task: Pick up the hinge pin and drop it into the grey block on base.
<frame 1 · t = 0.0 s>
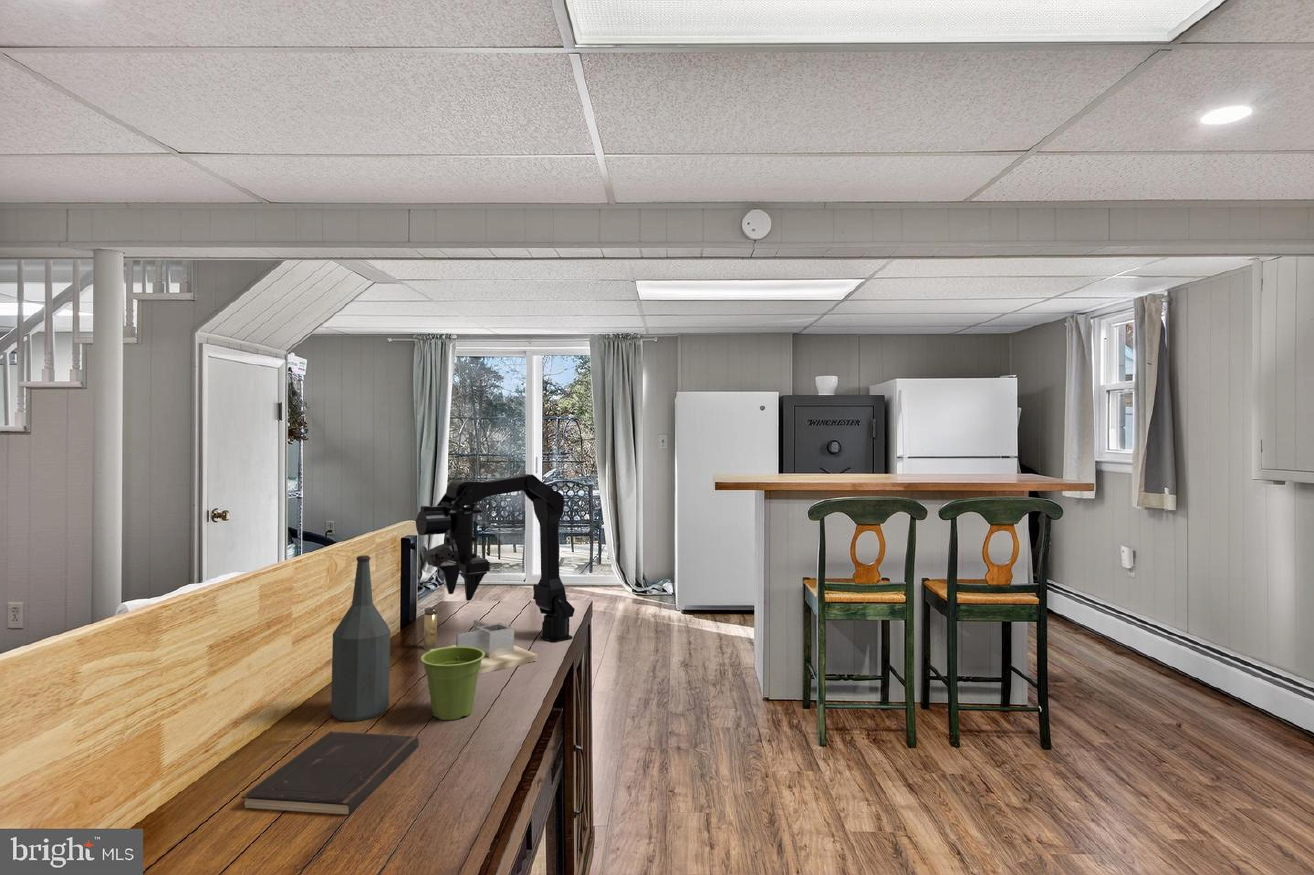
hand: (459, 597, 173), 15 cm above the table, tool pointing down, fingers open, 9 cm apart
hardcover book: (338, 779, 112), on the table
bottle: (360, 713, 138), on the table
grey block on base: (483, 658, 173), on the table
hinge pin: (430, 648, 181), on the table
plant pot: (451, 714, 138), on the table
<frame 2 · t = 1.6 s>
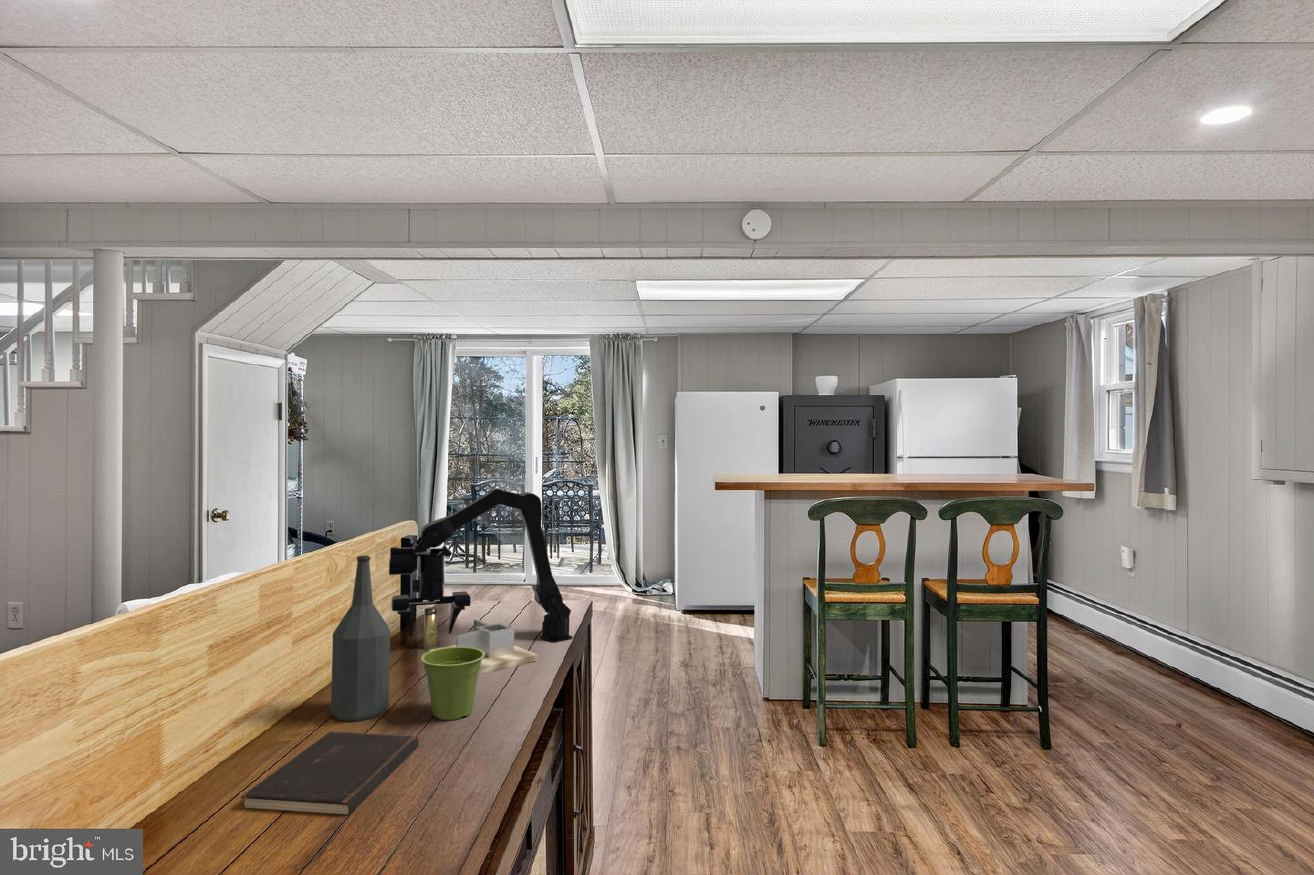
hand: (430, 635, 181), 3 cm above the table, tool pointing down, fingers open, 9 cm apart
nothing on the table moved.
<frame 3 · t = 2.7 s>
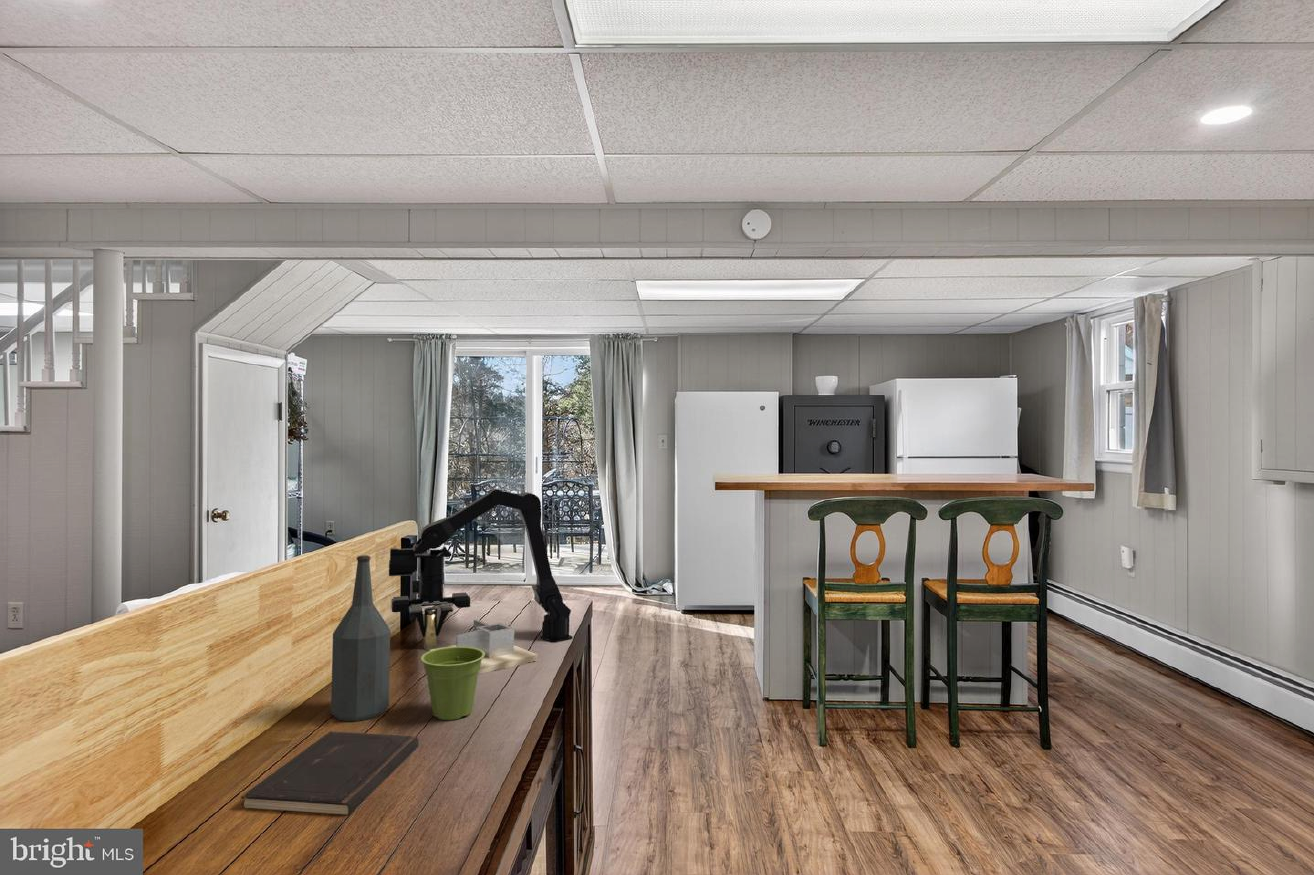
hand: (430, 636, 181), 3 cm above the table, tool pointing down, fingers closed on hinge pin, 3 cm apart
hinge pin: (430, 648, 181), on the table, touching gripper
everything else where it was.
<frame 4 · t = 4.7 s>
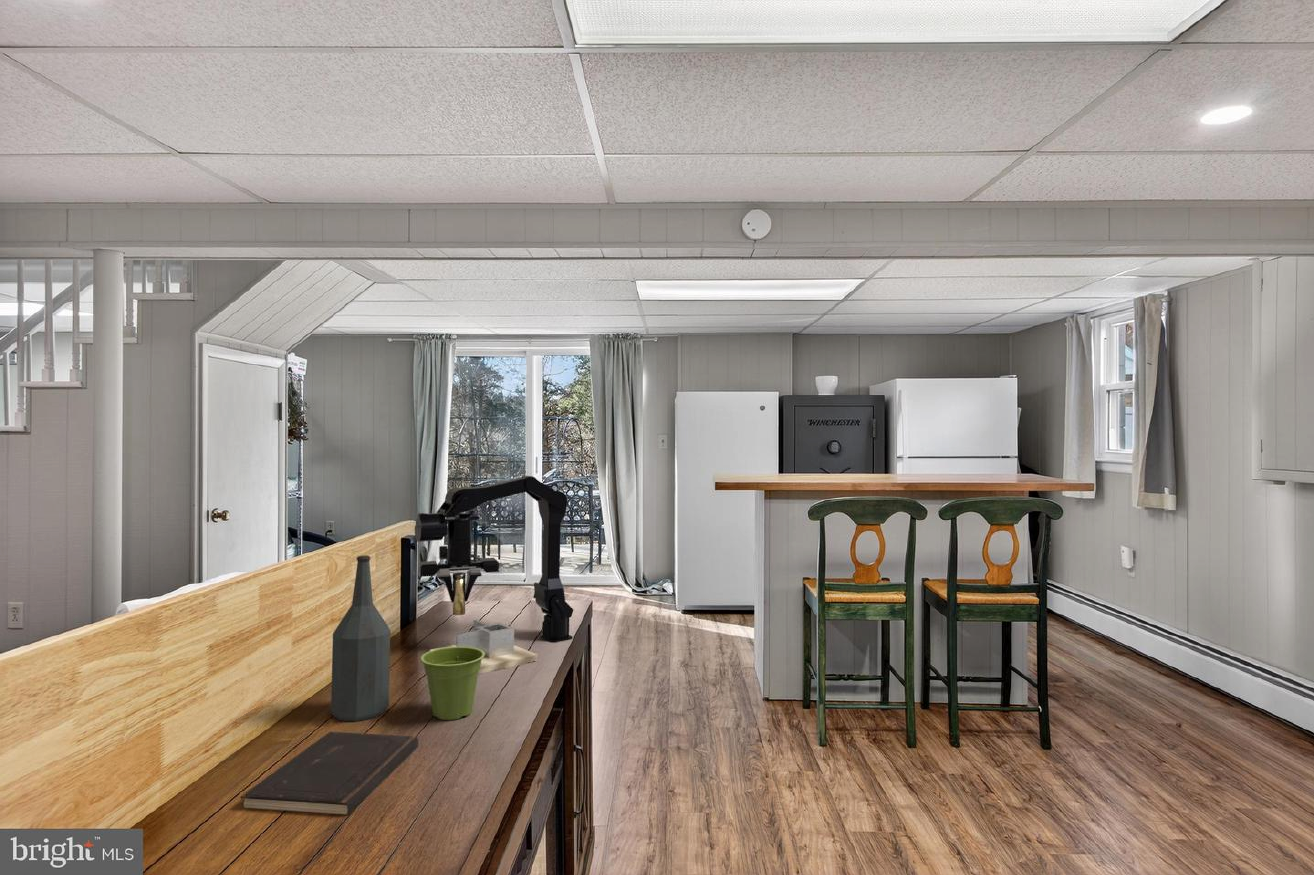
hand: (459, 601, 178), 13 cm above the table, tool pointing down, fingers closed on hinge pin, 3 cm apart
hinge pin: (458, 613, 178), point 10 cm above the table, touching gripper
everything else where it was.
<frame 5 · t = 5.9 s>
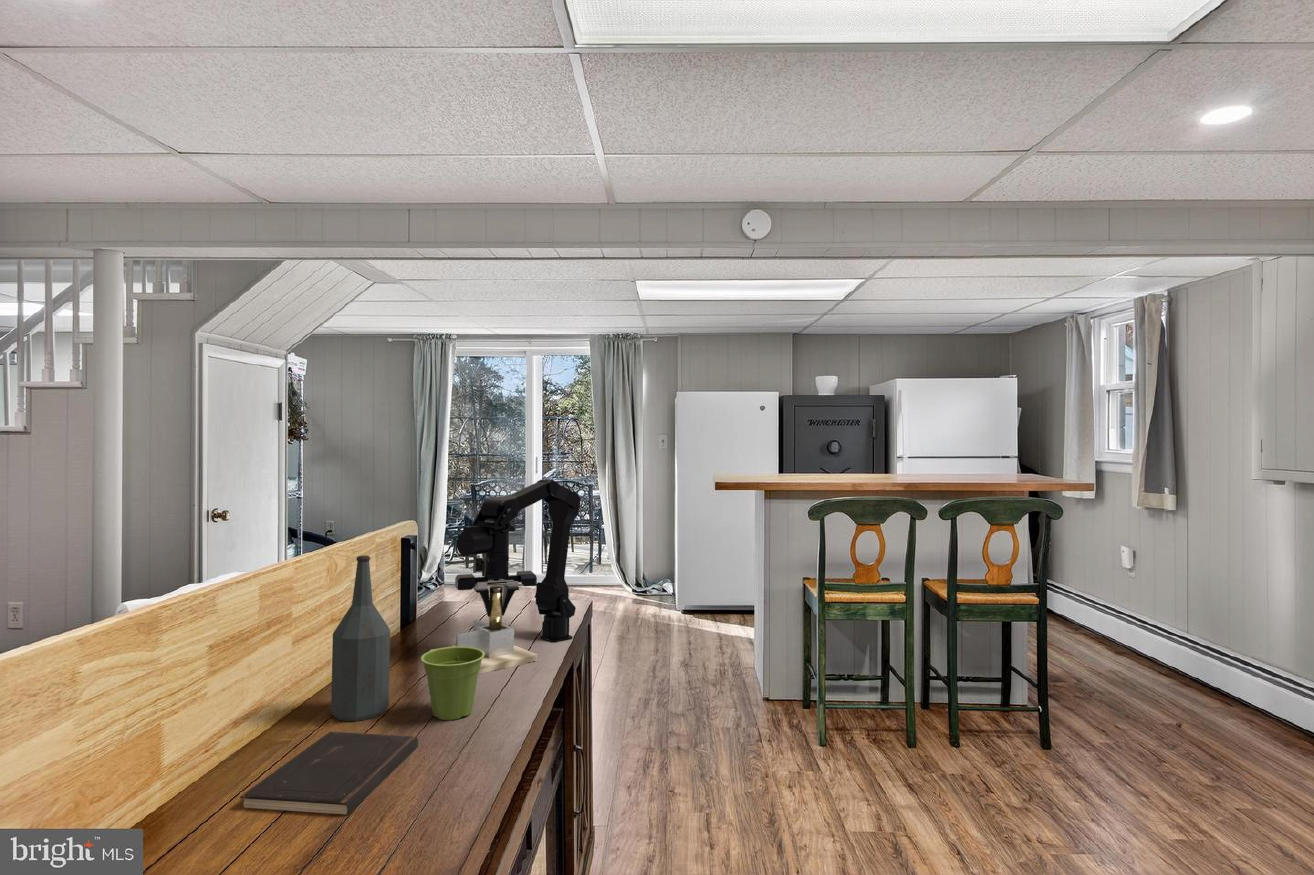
hand: (495, 615, 173), 10 cm above the table, tool pointing down, fingers closed on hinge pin, 3 cm apart
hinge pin: (495, 628, 173), point 7 cm above the table, touching gripper
everything else where it was.
when the fingers open (8 cm above the table, at t = 6.8 s): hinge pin drops 4 cm, resting on grey block on base.
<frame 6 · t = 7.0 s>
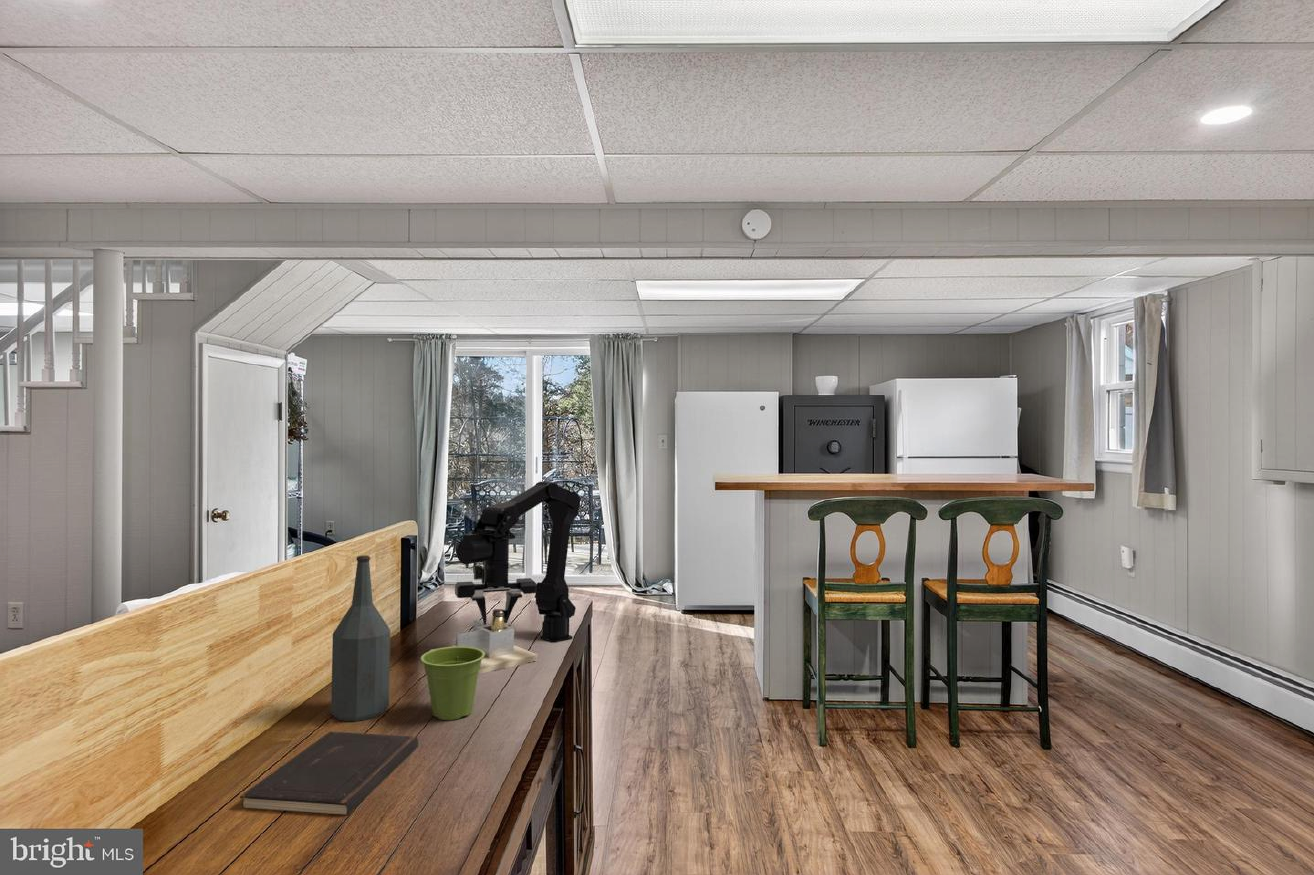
hand: (495, 623, 173), 8 cm above the table, tool pointing down, fingers open, 5 cm apart
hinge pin: (495, 652, 173), point 2 cm above the table, touching gripper, grey block on base
everything else where it was.
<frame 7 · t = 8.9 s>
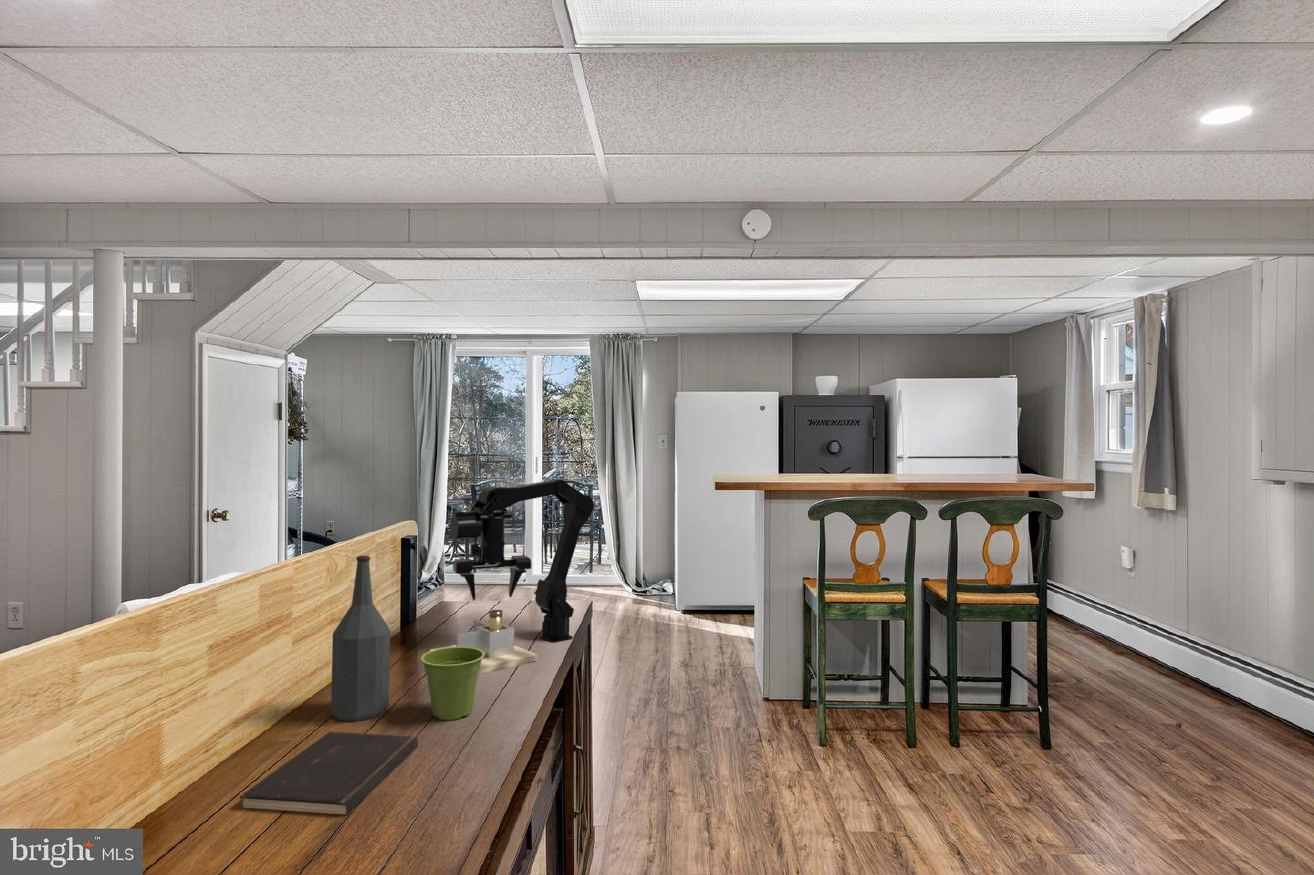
hand: (492, 598, 181), 13 cm above the table, tool pointing down, fingers open, 9 cm apart
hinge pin: (495, 652, 173), point 1 cm above the table, touching grey block on base
everything else where it was.
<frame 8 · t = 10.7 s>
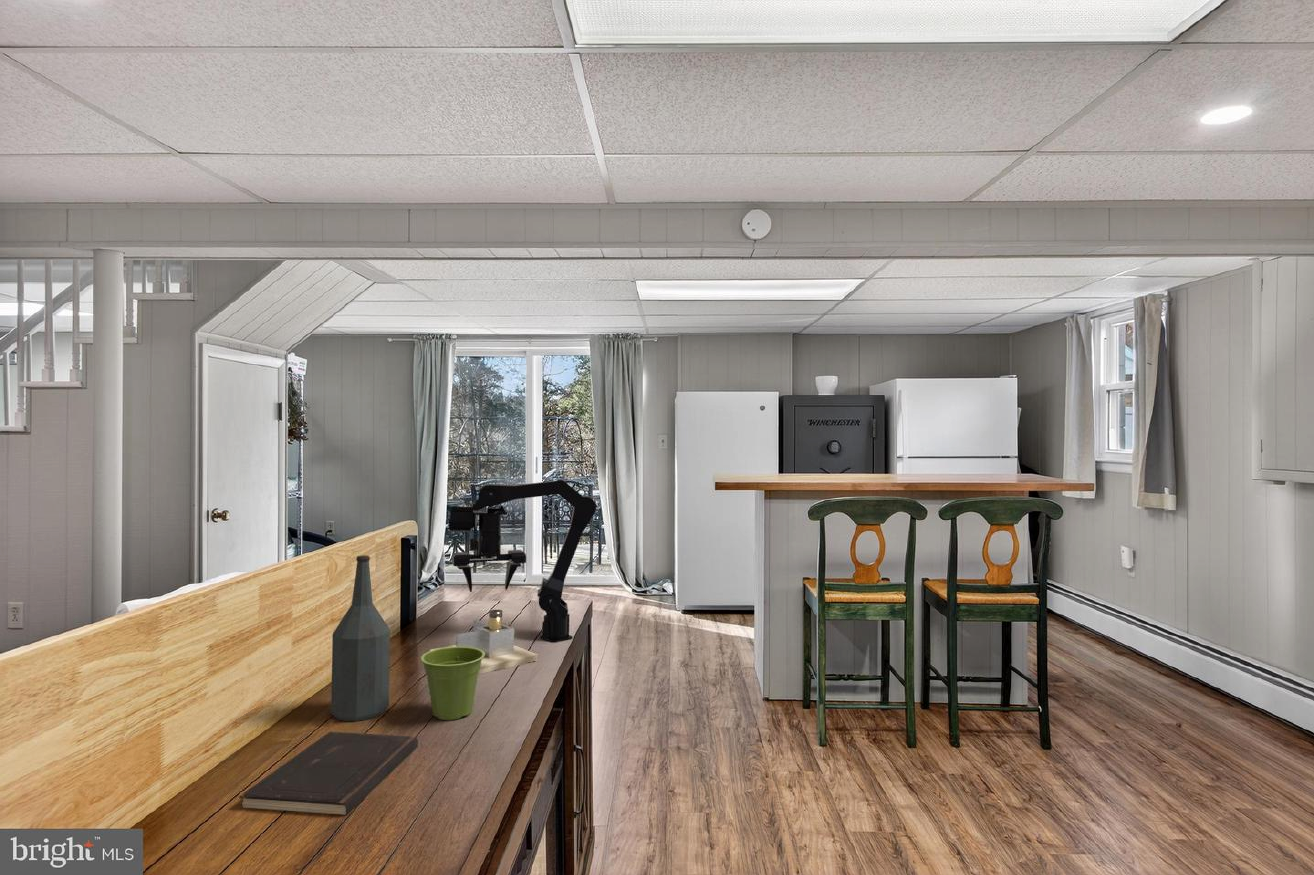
hand: (488, 590, 190), 13 cm above the table, tool pointing down, fingers open, 9 cm apart
nothing on the table moved.
at the end: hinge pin 0.1 cm from the target spot on the grey block on base, point 1.5 cm above the grey block on base's base; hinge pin tilted 0°; the gripper is holding nothing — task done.
